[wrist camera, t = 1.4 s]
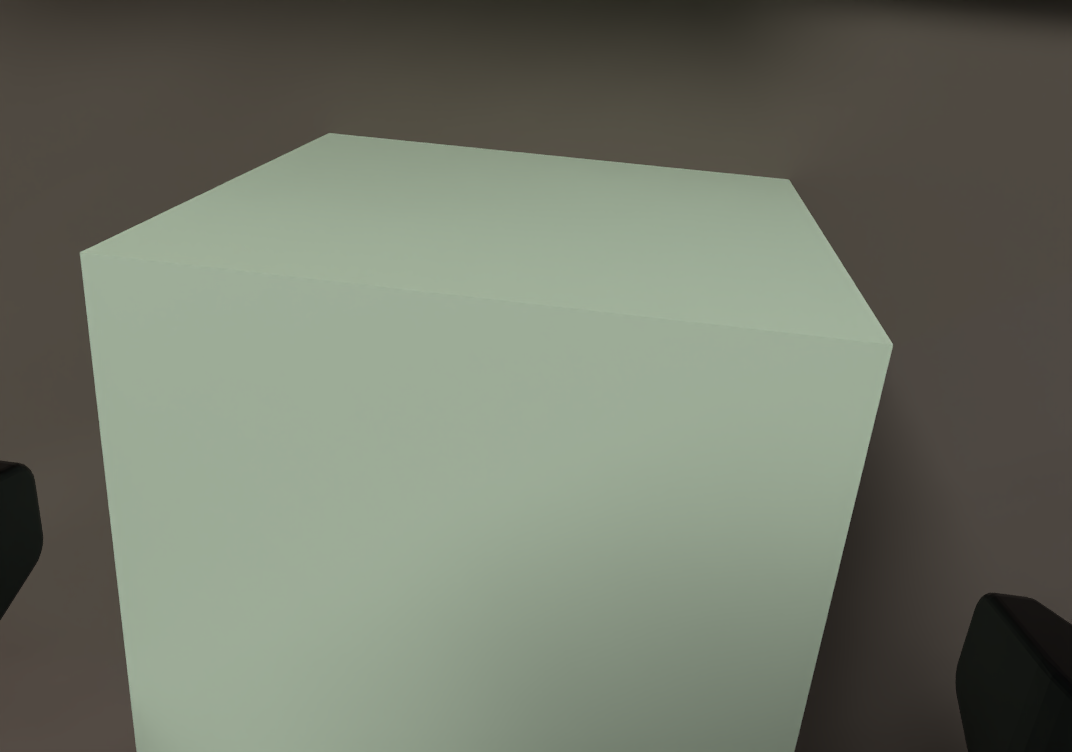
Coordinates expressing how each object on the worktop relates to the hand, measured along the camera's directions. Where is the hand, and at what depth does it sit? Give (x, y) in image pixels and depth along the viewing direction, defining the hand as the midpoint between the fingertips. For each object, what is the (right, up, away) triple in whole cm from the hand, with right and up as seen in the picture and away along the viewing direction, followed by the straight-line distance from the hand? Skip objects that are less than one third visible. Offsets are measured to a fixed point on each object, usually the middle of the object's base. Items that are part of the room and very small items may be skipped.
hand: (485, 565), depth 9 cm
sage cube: (0, +2, +5) cm, 5 cm away
